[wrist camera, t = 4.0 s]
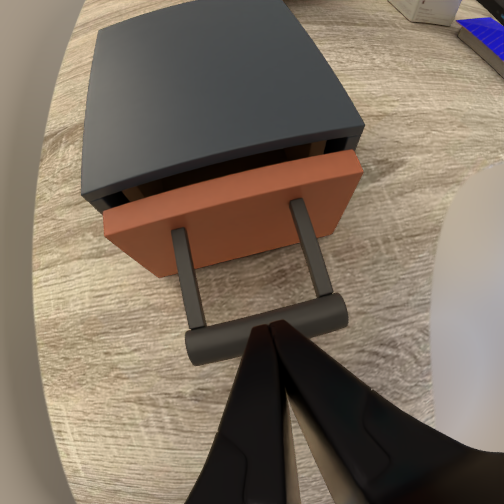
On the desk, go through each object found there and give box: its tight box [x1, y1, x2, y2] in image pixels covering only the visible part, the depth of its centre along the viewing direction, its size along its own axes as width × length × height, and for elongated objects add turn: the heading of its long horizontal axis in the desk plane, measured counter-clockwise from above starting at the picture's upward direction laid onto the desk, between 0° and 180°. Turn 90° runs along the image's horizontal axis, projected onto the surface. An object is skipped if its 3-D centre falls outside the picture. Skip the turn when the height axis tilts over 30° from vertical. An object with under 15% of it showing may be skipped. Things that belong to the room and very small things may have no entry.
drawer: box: [103, 140, 364, 366], centre depth 17 cm, size 18×11×7 cm, turn 14°
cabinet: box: [81, 0, 365, 215], centre depth 18 cm, size 13×12×9 cm
